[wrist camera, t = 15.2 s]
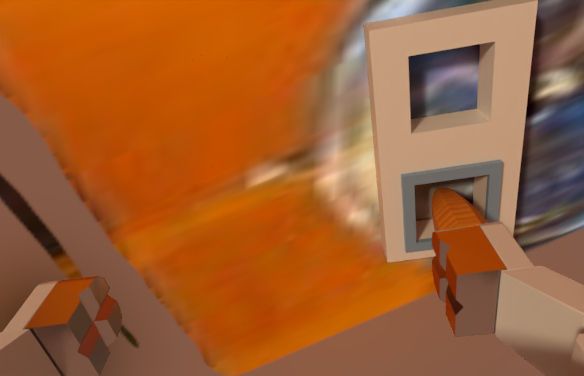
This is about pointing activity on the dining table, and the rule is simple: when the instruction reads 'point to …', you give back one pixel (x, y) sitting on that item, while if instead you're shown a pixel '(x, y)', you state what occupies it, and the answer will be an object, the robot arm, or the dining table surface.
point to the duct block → (449, 116)
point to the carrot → (453, 211)
